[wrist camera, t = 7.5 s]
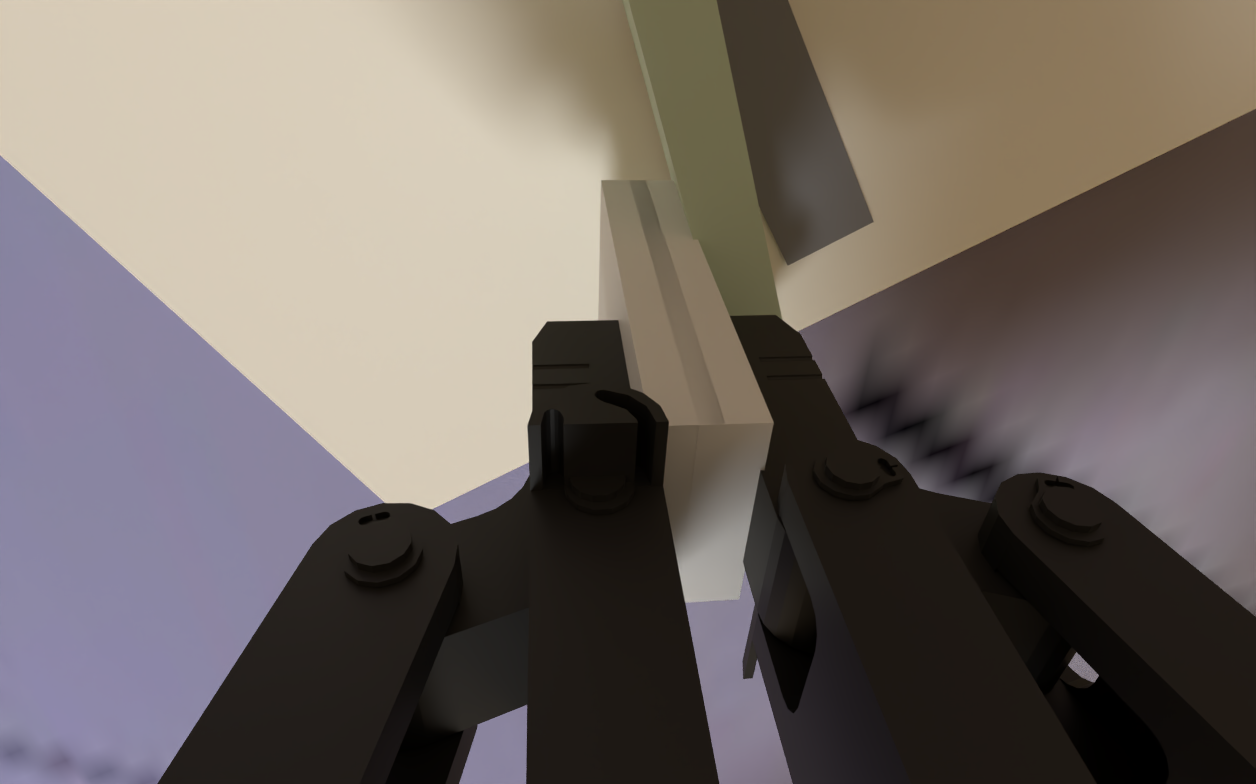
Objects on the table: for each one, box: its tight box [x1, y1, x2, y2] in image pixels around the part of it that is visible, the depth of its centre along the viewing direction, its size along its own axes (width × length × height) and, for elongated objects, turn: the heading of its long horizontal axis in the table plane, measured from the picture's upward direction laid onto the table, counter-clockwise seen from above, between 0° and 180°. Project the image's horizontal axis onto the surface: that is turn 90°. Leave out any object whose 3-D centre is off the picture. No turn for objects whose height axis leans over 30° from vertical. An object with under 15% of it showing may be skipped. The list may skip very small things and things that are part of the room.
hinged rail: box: [622, 0, 782, 319], centre depth 12 cm, size 10×2×5 cm, turn 17°
